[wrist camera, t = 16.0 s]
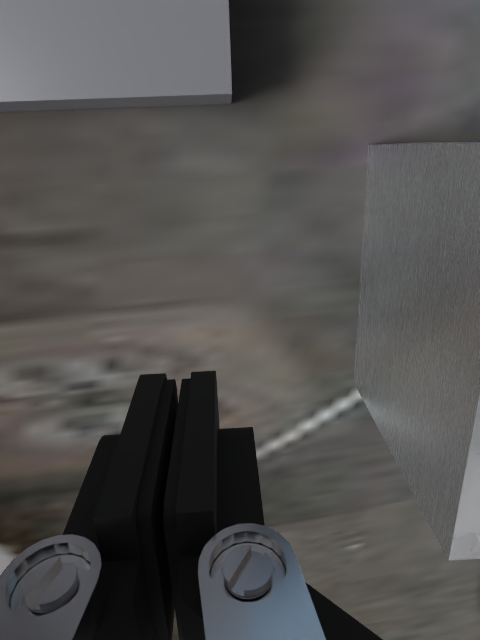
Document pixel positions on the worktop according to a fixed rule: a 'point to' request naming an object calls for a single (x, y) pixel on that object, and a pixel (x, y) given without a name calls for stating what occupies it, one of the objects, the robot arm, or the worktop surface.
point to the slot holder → (113, 54)
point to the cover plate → (425, 327)
